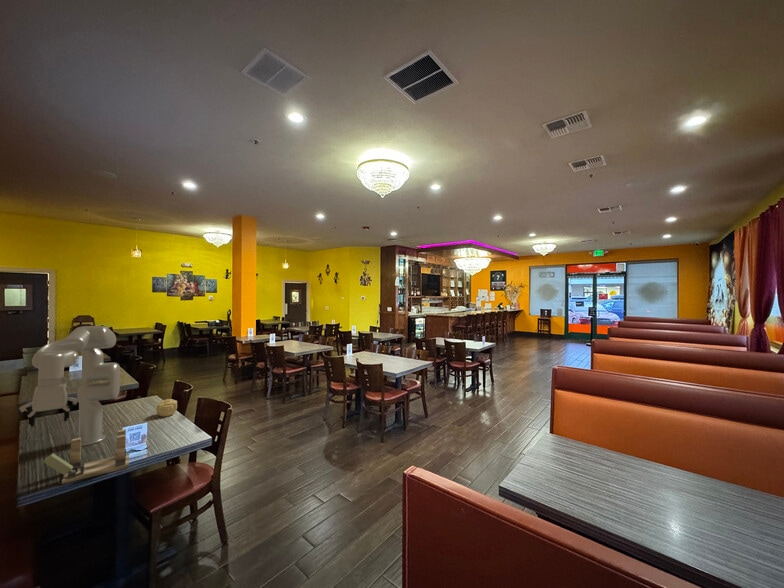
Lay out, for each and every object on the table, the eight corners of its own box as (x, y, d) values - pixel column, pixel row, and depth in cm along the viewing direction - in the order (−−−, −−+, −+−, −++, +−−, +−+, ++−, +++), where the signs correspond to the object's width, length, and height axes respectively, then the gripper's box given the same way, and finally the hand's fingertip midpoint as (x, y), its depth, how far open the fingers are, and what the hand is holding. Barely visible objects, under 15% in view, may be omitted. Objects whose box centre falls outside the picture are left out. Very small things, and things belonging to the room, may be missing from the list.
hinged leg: (71, 475, 142) (45, 458, 137) (78, 469, 144) (52, 452, 139) (69, 479, 139) (42, 462, 134) (77, 473, 140) (51, 456, 135)
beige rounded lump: (157, 419, 209) (157, 403, 210) (155, 414, 218) (155, 398, 219) (178, 415, 217) (178, 399, 217) (175, 410, 226) (175, 395, 226)
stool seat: (67, 470, 148) (68, 438, 148) (129, 456, 161) (129, 427, 162) (61, 484, 137) (62, 450, 137) (128, 467, 150) (129, 436, 151)
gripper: (80, 377, 145) (78, 416, 145) (22, 383, 134) (20, 425, 134) (78, 380, 140) (77, 420, 139) (18, 387, 128) (16, 430, 128)
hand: (49, 423), depth 136 cm, fingers open, 9 cm apart
